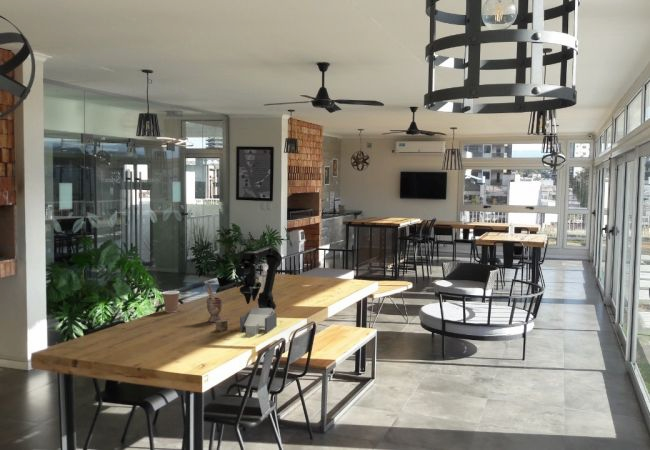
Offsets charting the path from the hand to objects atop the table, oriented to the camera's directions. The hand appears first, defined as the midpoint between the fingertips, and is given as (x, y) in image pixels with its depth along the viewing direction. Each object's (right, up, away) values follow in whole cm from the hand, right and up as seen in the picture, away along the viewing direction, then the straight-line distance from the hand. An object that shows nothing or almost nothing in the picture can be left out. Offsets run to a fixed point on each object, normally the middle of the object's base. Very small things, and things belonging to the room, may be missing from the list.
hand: (250, 302), depth 348 cm
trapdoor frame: (+5, -14, -8) cm, 16 cm away
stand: (-15, -14, -9) cm, 22 cm away
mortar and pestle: (-24, -13, +13) cm, 30 cm away
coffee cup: (-54, -11, +39) cm, 68 cm away
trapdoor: (+6, -9, -6) cm, 13 cm away
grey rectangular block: (+4, -12, -15) cm, 19 cm away
